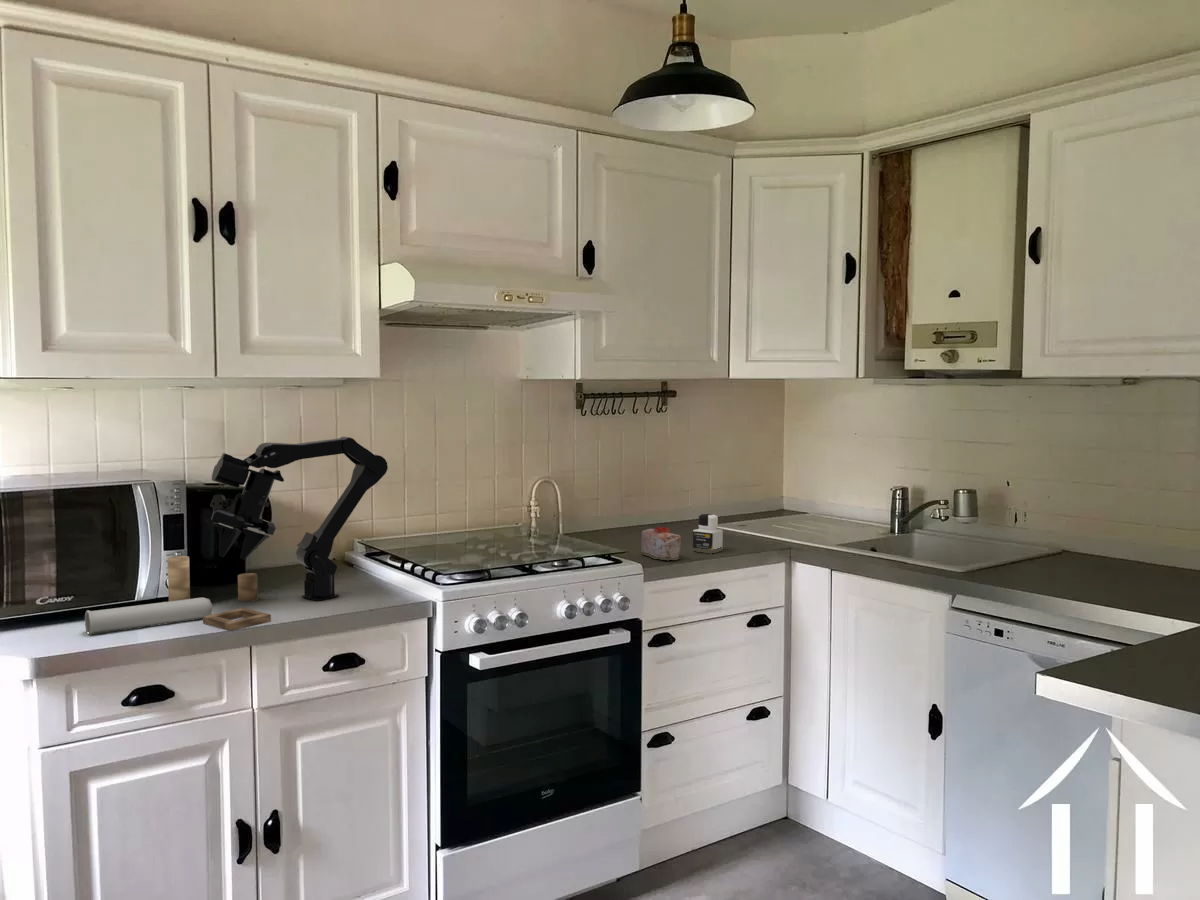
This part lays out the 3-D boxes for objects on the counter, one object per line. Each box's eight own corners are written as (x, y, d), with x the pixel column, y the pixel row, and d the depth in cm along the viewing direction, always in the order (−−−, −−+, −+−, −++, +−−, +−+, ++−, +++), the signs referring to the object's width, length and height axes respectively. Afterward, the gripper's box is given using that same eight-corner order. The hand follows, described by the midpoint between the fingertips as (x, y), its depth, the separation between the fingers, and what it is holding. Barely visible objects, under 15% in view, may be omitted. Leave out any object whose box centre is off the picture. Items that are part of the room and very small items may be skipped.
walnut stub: (250, 596, 226) (250, 572, 226) (261, 599, 224) (260, 574, 223) (234, 599, 223) (233, 575, 222) (245, 602, 220) (244, 577, 220)
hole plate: (244, 614, 209) (243, 607, 209) (270, 621, 203) (270, 614, 203) (203, 623, 201) (203, 616, 201) (229, 630, 195) (229, 623, 195)
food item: (684, 561, 278) (685, 528, 278) (663, 563, 274) (664, 530, 273) (657, 553, 290) (657, 522, 289) (636, 556, 285) (637, 524, 285)
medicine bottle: (692, 552, 293) (693, 514, 292) (703, 548, 299) (703, 512, 298) (712, 554, 289) (713, 516, 288) (722, 551, 295) (723, 514, 294)
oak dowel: (183, 611, 211) (182, 555, 210) (194, 614, 208) (193, 557, 207) (165, 615, 207) (163, 558, 206) (175, 618, 205) (174, 560, 204)
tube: (207, 596, 209) (84, 612, 194) (214, 593, 205) (88, 609, 190) (210, 620, 209) (86, 637, 193) (217, 617, 204) (91, 634, 189)
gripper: (246, 490, 226) (223, 550, 224) (203, 478, 208) (178, 544, 206) (286, 503, 224) (263, 564, 222) (246, 492, 206) (221, 559, 204)
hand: (231, 557), depth 214 cm, fingers open, 9 cm apart
